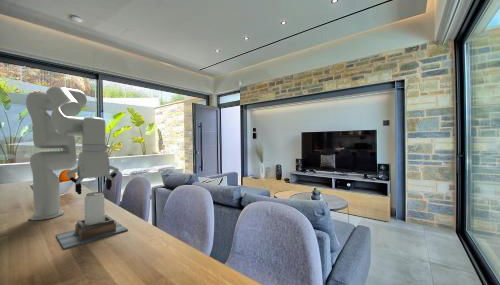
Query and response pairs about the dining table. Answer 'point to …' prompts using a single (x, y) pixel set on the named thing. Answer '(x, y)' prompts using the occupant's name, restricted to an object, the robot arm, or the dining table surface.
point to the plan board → (77, 241)
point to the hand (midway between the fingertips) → (94, 191)
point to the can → (94, 208)
